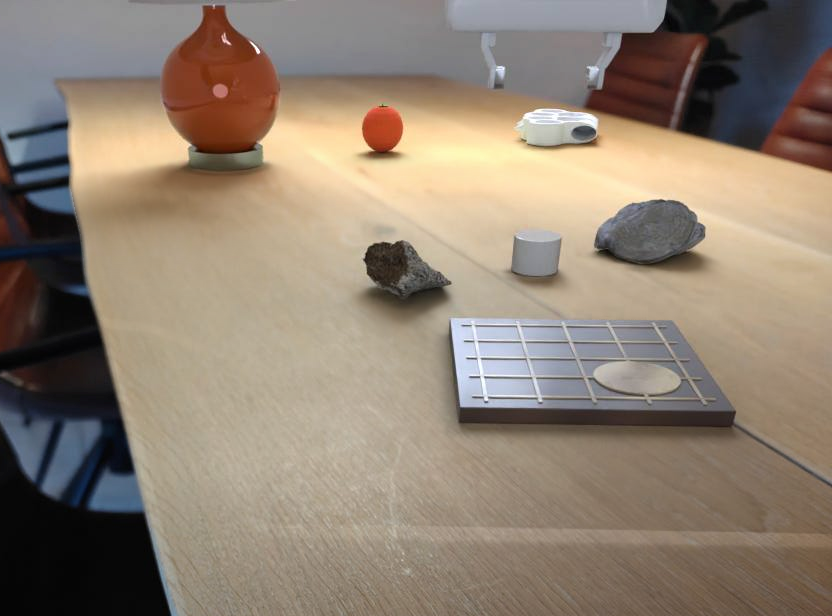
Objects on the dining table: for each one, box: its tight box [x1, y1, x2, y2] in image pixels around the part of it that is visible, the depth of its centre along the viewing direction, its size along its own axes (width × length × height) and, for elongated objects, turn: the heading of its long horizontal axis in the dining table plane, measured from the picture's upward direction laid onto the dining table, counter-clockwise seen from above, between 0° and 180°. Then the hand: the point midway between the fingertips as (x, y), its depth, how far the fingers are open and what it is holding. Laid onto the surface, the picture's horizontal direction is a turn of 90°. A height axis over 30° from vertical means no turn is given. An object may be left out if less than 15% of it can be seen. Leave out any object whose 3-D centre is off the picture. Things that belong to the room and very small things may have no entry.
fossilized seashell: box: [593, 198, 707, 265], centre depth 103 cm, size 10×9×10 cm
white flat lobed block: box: [513, 108, 599, 147], centre depth 163 cm, size 3×18×15 cm
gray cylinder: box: [510, 229, 563, 277], centre depth 97 cm, size 5×5×4 cm
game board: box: [448, 317, 737, 427], centre depth 74 cm, size 20×20×1 cm
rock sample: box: [362, 239, 453, 300], centre depth 91 cm, size 10×8×9 cm
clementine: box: [361, 103, 404, 153], centre depth 152 cm, size 8×7×7 cm
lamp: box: [127, 0, 296, 171], centre depth 135 cm, size 25×25×39 cm
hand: (543, 88), depth 88 cm, fingers open, 8 cm apart
